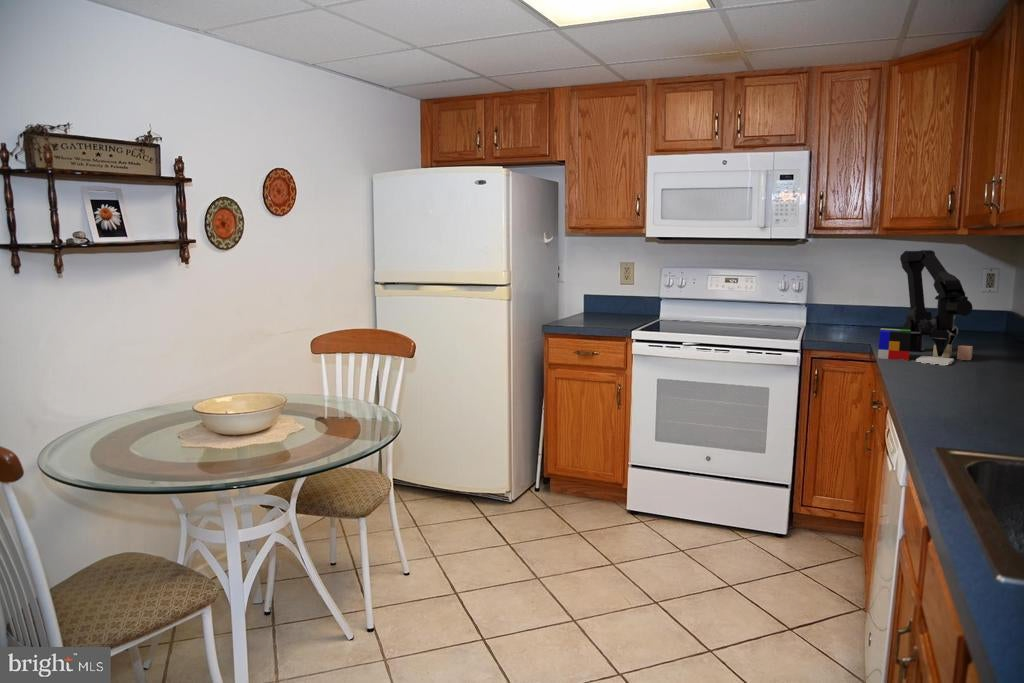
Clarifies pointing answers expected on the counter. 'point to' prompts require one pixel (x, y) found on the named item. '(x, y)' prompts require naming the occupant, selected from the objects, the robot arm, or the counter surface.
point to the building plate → (935, 360)
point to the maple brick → (946, 353)
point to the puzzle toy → (894, 344)
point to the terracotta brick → (964, 352)
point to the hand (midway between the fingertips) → (941, 355)
